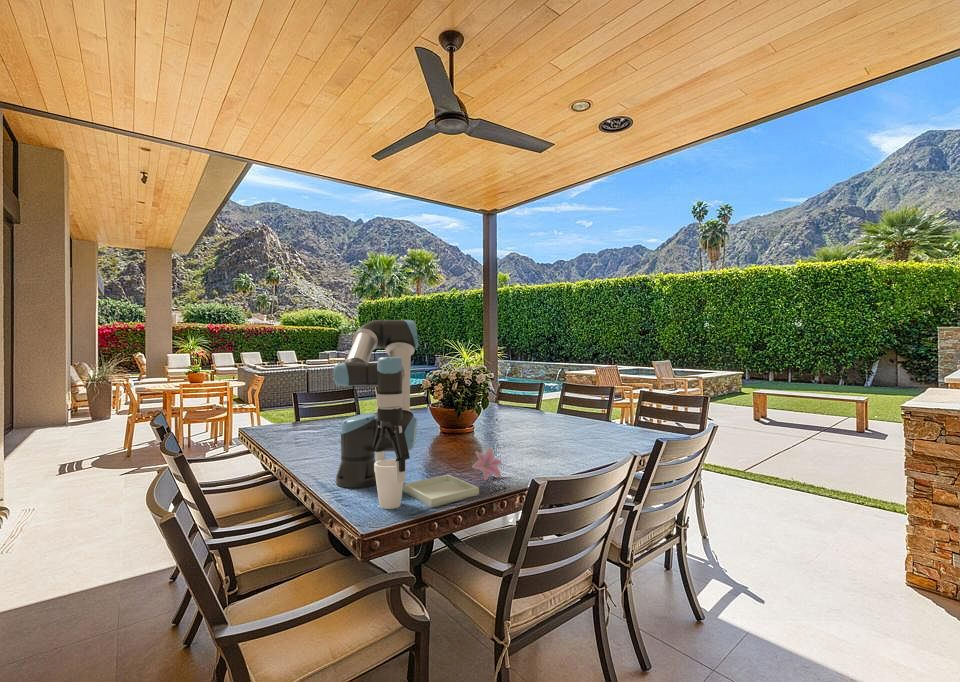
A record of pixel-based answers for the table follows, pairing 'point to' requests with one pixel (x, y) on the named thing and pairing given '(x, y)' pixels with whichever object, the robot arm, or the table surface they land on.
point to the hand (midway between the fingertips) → (390, 477)
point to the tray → (440, 490)
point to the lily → (487, 464)
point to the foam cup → (388, 484)
